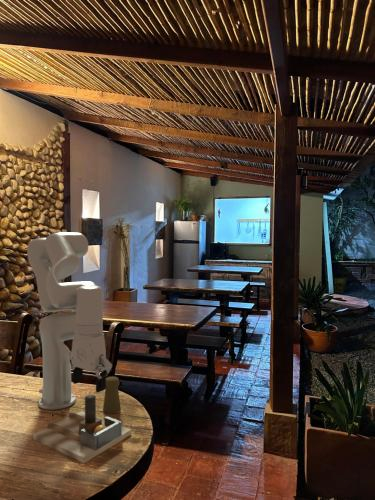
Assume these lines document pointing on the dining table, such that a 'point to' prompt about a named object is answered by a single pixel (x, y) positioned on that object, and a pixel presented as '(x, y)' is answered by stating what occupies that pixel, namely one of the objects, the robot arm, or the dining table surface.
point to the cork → (111, 396)
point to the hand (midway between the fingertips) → (89, 386)
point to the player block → (90, 415)
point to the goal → (102, 434)
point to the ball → (99, 428)
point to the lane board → (72, 438)
